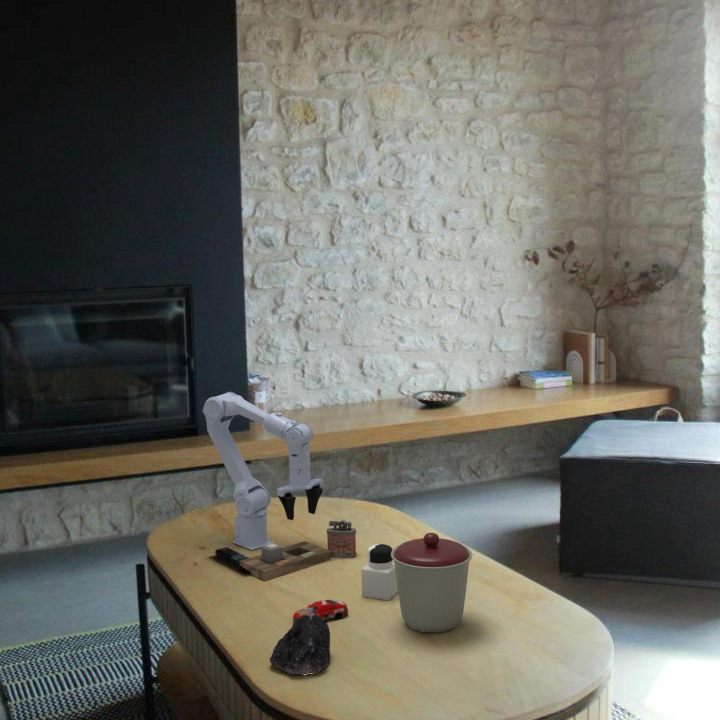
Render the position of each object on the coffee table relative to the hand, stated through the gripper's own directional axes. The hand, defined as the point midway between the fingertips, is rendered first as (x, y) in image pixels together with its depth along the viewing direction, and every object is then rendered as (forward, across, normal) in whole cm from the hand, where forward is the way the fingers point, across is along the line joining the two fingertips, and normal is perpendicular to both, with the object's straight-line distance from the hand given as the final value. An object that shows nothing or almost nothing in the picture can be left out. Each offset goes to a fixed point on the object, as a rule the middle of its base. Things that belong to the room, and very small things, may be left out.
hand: (301, 516), depth 262 cm
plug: (+10, -14, -5) cm, 18 cm away
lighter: (+10, +5, -11) cm, 16 cm away
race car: (+10, -26, -39) cm, 48 cm away
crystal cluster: (+10, -43, -53) cm, 69 cm away
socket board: (+10, -10, -6) cm, 15 cm away
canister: (+10, -10, -59) cm, 61 cm away
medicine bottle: (+10, -6, -38) cm, 40 cm away
